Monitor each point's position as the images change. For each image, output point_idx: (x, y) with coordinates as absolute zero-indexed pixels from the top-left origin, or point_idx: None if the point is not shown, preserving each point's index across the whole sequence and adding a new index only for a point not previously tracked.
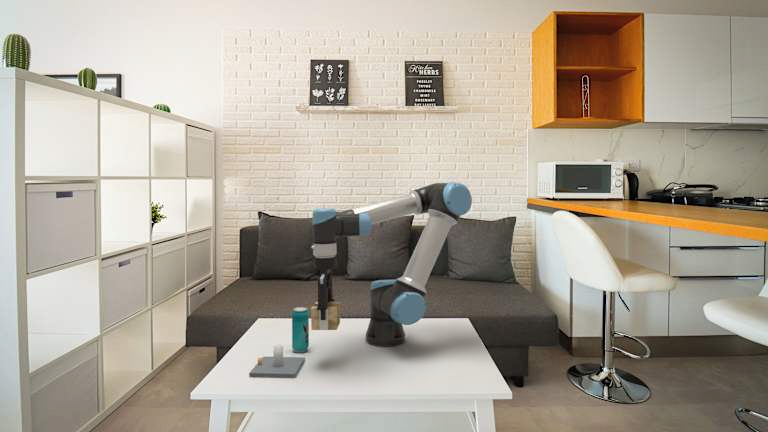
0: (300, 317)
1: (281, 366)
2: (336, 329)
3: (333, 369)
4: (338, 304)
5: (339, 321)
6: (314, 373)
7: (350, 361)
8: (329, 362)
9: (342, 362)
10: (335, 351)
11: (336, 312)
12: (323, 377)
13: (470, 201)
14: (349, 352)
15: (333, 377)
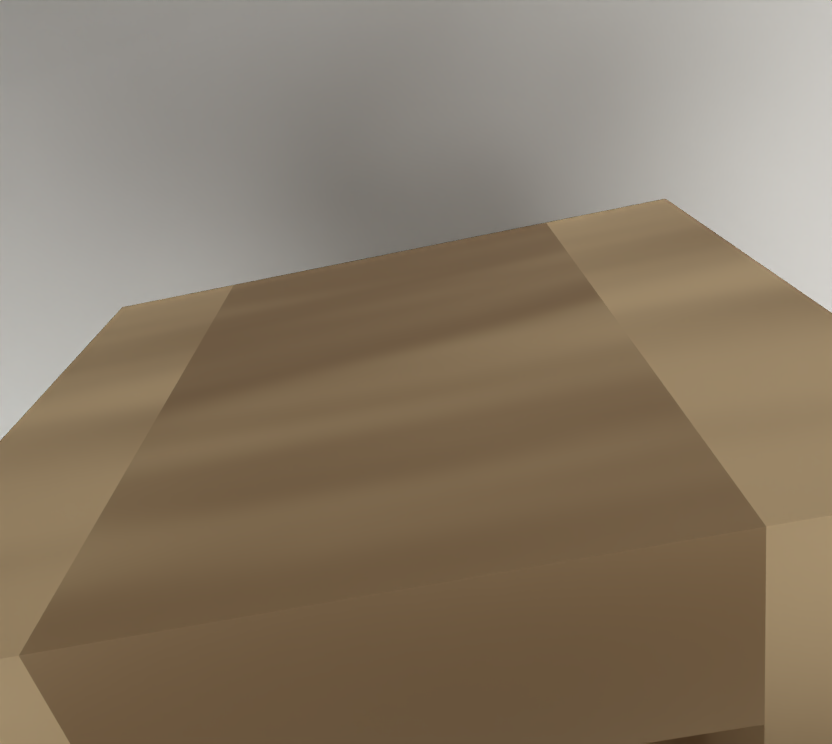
0: None
1: None
2: (668, 201)
3: (563, 129)
4: (181, 614)
5: (171, 311)
6: None
7: (287, 11)
8: (384, 240)
9: (345, 99)
10: (58, 291)
11: (823, 378)
12: (783, 156)
13: None
14: (13, 123)
15: (778, 50)
